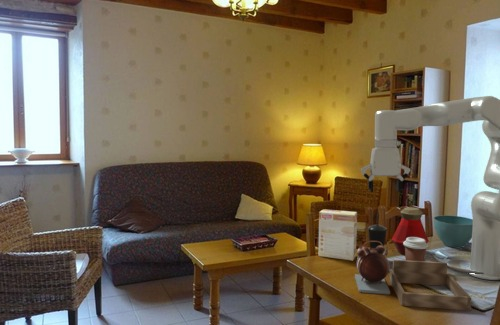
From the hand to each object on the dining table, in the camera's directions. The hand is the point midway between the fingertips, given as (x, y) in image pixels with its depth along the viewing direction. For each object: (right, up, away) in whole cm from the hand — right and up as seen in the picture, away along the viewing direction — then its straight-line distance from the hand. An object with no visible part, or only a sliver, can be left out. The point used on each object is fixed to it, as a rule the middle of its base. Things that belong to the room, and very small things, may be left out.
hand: (385, 191), depth 144 cm
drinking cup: (+4, -31, +21) cm, 37 cm away
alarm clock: (-6, -32, -5) cm, 33 cm away
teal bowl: (+47, -29, +43) cm, 70 cm away
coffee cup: (+15, -32, +11) cm, 37 cm away
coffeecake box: (-12, -30, +26) cm, 41 cm away
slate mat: (-7, -33, -5) cm, 34 cm away
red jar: (+21, -30, +31) cm, 48 cm away
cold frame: (+9, -33, -13) cm, 37 cm away
